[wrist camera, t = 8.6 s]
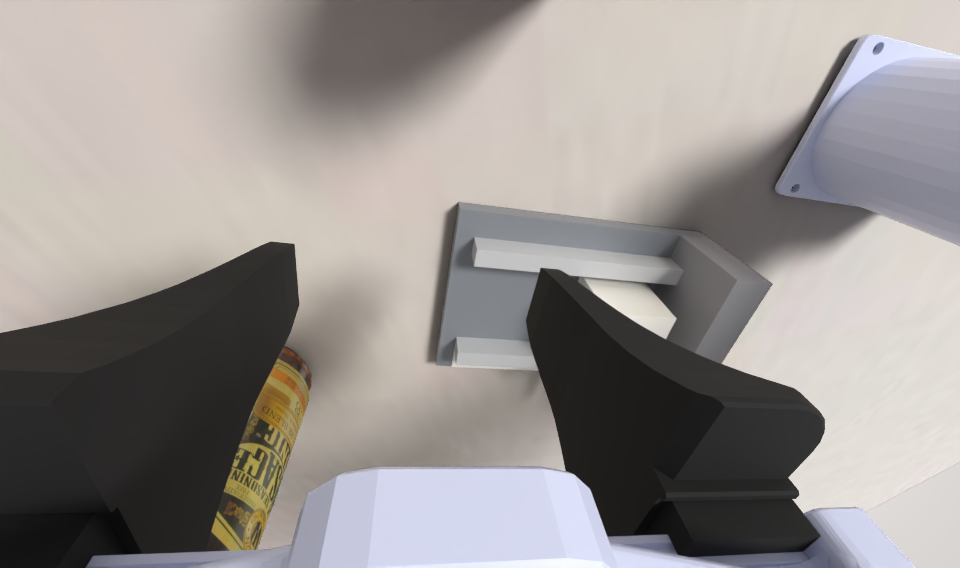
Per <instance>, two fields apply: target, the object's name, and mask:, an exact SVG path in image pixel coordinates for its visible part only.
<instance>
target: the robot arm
mask: <svg viewBox="0 0 960 568" xmlns="http://www.w3.org/2000/svg"><path fill="white" fill-rule="evenodd" d="M875 46H876V48H875V50H874V51H873V49H874V47H875ZM793 186H794V187H793ZM792 187H793V188H792ZM791 188H792V189H791ZM775 191H776V193H779V194H781V195H784V196H790V197H797V198H804V199H810V200H817V201H824V202H831V203H837V204H844V205H851V206H857V207H862V208H865V209H867V210H870V211H872V212H875V213H877V214H880V215H882V216H885V217H888V218H890V219H893V220H895V221H898V222H900V223H903V224H905V225H908V226H910V227H913V228H915V229H918V230H920V231H923V232H925V233H928V234H930V235H933V236H936V237H938V238H941V239H943V240H946V241H948V242H951V243H953V244H956V245H958V246H960V55H956V54H952V53H948V52H944V51H940V50H936V49H932V48H928V47H924V46H920V45H916V44H912V43H908V42H904V41H900V40H896V39H892V38H888V37H884V36H880V35H876V34H868V35H865V36H862V37H861V38H860V39H859V40H858V41H857V43H856V44H855V46H854V47H853V49H852V51H851V53H850V54H849V56H848V58H847V60H846V62H845V63H844V65H843V67H842V69H841V70H840V72H839V74H838V76H837V77H836V79H835V81H834V83H833V85H832V86H831V88H830V90H829V92H828V93H827V95H826V97H825V99H824V101H823V102H822V104H821V106H820V108H819V109H818V111H817V113H816V115H815V116H814V118H813V120H812V122H811V124H810V125H809V127H808V129H807V131H806V132H805V134H804V136H803V138H802V140H801V141H800V143H799V145H798V147H797V148H796V150H795V152H794V154H793V155H792V157H791V159H790V161H789V163H788V164H787V166H786V168H785V170H784V171H783V173H782V175H781V177H780V179H779V180H778V182H777V184H776V186H775ZM298 307H299V297H298V284H297V271H296V258H295V245H294V244H289V243H279V242H269V243H266V244H264V245H261V246H259V247H257V248H255V249H253V250H251V251H249V252H247V253H245V254H243V255H241V256H239V257H237V258H235V259H233V260H231V261H229V262H227V263H224V264H222V265H220V266H218V267H216V268H214V269H212V270H210V271H207V272H205V273H203V274H201V275H198V276H196V277H194V278H191V279H189V280H187V281H185V282H182V283H180V284H178V285H175V286H173V287H170V288H168V289H165V290H162V291H160V292H157V293H154V294H151V295H148V296H145V297H142V298H139V299H136V300H133V301H130V302H127V303H124V304H120V305H117V306H113V307H109V308H106V309H102V310H99V311H95V312H91V313H88V314H84V315H80V316H77V317H73V318H69V319H65V320H60V321H56V322H51V323H47V324H43V325H38V326H33V327H28V328H23V329H18V330H14V331H9V332H3V333H0V568H916V567H915V566H914V565H913V564H912V563H911V562H910V560H908V558H907V557H906V556H905V555H904V554H903V553H902V552H901V551H900V550H899V549H898V548H897V546H896V545H895V544H894V543H893V542H892V541H891V540H890V539H889V538H888V537H887V535H886V534H885V533H884V532H883V531H882V530H881V529H880V528H879V527H878V526H877V525H876V524H875V522H873V520H872V519H871V518H870V517H869V516H868V515H867V514H866V513H865V512H864V510H863V509H861V508H857V507H843V508H818V509H813V510H811V511H808V512H806V513H804V514H803V512H802V511H801V510H800V509H799V507H798V506H797V505H796V504H795V502H794V501H793V500H792V499H796V498H797V497H798V496H799V491H798V489H797V488H796V487H795V486H794V484H793V483H792V482H791V481H790V480H789V478H788V477H789V476H790V475H791V474H792V473H793V472H794V471H795V470H796V469H797V468H798V467H799V466H800V464H801V463H802V462H803V461H804V460H805V459H806V458H807V457H808V456H809V455H810V454H811V453H812V452H813V451H814V449H815V448H816V447H817V445H818V444H819V443H820V441H821V439H822V436H823V434H824V430H825V419H824V417H823V416H822V414H821V413H820V411H819V410H818V409H817V408H816V407H814V406H813V405H812V404H811V403H810V402H809V401H808V400H807V399H806V398H805V397H804V396H803V395H802V394H801V393H800V392H798V391H797V390H796V389H794V388H792V387H788V386H785V385H782V384H779V383H776V382H772V381H769V380H766V379H763V378H760V377H757V376H753V375H750V374H747V373H744V372H741V371H739V370H736V369H733V368H731V367H728V366H725V365H723V364H720V363H717V362H715V361H712V360H710V359H708V358H705V357H703V356H700V355H698V354H696V353H694V352H692V351H689V350H687V349H685V348H683V347H681V346H679V345H676V344H674V343H672V342H670V341H668V340H666V339H664V338H663V337H661V336H659V335H657V334H655V333H654V332H652V331H650V330H648V329H646V328H645V327H643V326H641V325H639V324H638V323H636V322H634V321H633V320H631V319H630V318H628V317H627V316H625V315H624V314H622V313H621V312H619V311H618V310H616V309H615V308H613V307H612V306H610V305H609V304H608V303H606V302H605V301H603V300H602V299H601V298H599V297H598V296H596V295H595V294H594V293H592V292H591V291H590V290H588V289H587V288H586V287H584V286H583V285H582V284H580V283H579V282H578V281H576V280H575V279H573V278H572V277H571V276H569V275H568V274H566V273H565V272H563V271H561V270H559V269H549V268H540V272H539V275H538V279H537V283H536V286H535V290H534V293H533V297H532V300H531V304H530V307H529V311H528V314H527V318H526V325H527V331H528V337H529V342H530V347H531V350H532V353H533V356H534V359H535V362H536V365H537V368H538V371H539V373H540V376H541V379H542V382H543V385H544V388H545V391H546V393H547V396H548V399H549V402H550V405H551V408H552V411H553V415H554V418H555V422H556V427H557V431H558V436H559V440H560V445H561V449H562V454H563V459H564V464H565V469H566V471H561V470H556V469H550V468H545V467H539V466H518V467H374V468H368V469H361V470H355V471H349V472H343V473H341V474H339V475H338V476H336V477H334V478H333V479H331V480H329V481H327V482H326V483H324V484H322V485H321V486H319V487H317V488H315V489H314V490H312V491H310V492H309V493H308V494H307V497H306V499H305V502H304V504H303V507H302V509H301V512H300V514H299V518H298V522H297V525H296V529H295V533H294V537H293V541H292V544H291V545H288V546H283V547H279V548H274V549H264V550H237V551H210V552H206V548H207V545H208V541H209V538H210V534H211V531H212V527H213V524H214V521H215V518H216V515H217V512H218V508H219V505H220V502H221V499H222V496H223V492H224V489H225V486H226V483H227V480H228V477H229V474H230V471H231V468H232V465H233V462H234V459H235V456H236V453H237V451H238V448H239V445H240V442H241V439H242V437H243V434H244V431H245V428H246V426H247V423H248V420H249V417H250V415H251V412H252V410H253V407H254V405H255V403H256V401H257V398H258V396H259V394H260V392H261V390H262V388H263V386H264V384H265V382H266V380H267V378H268V376H269V374H270V373H271V371H272V369H273V367H274V365H275V363H276V361H277V359H278V357H279V355H280V353H281V351H282V349H283V347H284V345H285V343H286V341H287V338H288V336H289V334H290V332H291V329H292V326H293V323H294V320H295V316H296V313H297V310H298Z"/></svg>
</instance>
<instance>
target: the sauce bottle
mask: <svg viewBox="0 0 960 568" xmlns="http://www.w3.org/2000/svg"><path fill="white" fill-rule="evenodd" d="M310 388H311V373H310V372H309V369H308V367H307V366H306V364H305V363H304V362H303V361H302V359H300V358H299V357H298V355H297V354H296V353H295V352H293V351H292V350H291V349H289V348H286V347H285V346H284V347H283V349H282V351H281V353H280V355H279V357H278V359H277V361H276V363H275V365H274V367H273V369H272V371H271V373H270V374H269V376H268V378H267V380H266V382H265V384H264V386H263V388H262V390H261V392H260V394H259V396H258V398H257V401H256V403H255V405H254V407H253V410H252V412H251V415H250V417H249V420H248V423H247V426H246V428H245V431H244V434H243V437H242V439H241V442H240V445H239V448H238V451H237V453H236V456H235V459H234V462H233V465H232V468H231V471H230V474H229V477H228V480H227V483H226V486H225V489H224V492H223V496H222V499H221V502H220V505H219V508H218V512H217V515H216V518H215V521H214V524H213V527H212V531H211V534H210V538H209V541H208V545H207V548H206V552H210V551H237V550H257V548H258V545H259V543H260V540H261V537H262V534H263V531H264V528H265V525H266V523H267V520H268V517H269V514H270V512H271V509H272V507H273V505H274V501H275V498H276V495H277V493H278V489H279V486H280V483H281V480H282V477H283V474H284V471H285V468H286V466H287V463H288V460H289V456H290V453H291V451H292V448H293V445H294V442H295V439H296V436H297V433H298V430H299V428H300V425H301V422H302V419H303V416H304V413H305V410H306V407H307V404H308V401H309V390H310Z"/></svg>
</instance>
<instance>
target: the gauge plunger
mask: <svg viewBox="0 0 960 568" xmlns="http://www.w3.org/2000/svg"><path fill="white" fill-rule="evenodd" d="M578 282H579V283H580V284H582V285H583V286H584V287H586V288H587V289H588V290H590V291H591V292H592V293H594V294H595V295H596V296H598V297H599V298H601V299H602V300H603V301H605V302H606V303H608V304H609V305H610V306H612V307H613V308H615V309H616V310H618V311H619V312H621V313H622V314H624V315H625V316H627V317H628V318H630V319H631V320H633V321H634V322H636V323H638V324H639V325H641V326H643V327H645V328H646V329H648V330H650V331H652V332H654V333H655V334H657V335H659V336H661V337H663V338H664V339H666V338H667V336H668V334H669V332H670V330H671V328H672V327H673V325H674V323H675V321H676V319H677V318H676V317H675V316H674V315H673V314H672V313H671V312H670V310H669V309H668V308H667V307H666V306H665V305H664V304H663V302H662V301H661V300H660V299H659V298H658V297H657V296H656V295H655V293H654V292H653V291H652V290H651V289H650V288H649V287H648V285H647V284H646V283H645V282H635V281H624V280H614V279H603V278H592V277H582V276H580V277H579V280H578Z"/></svg>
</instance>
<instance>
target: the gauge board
mask: <svg viewBox="0 0 960 568" xmlns="http://www.w3.org/2000/svg"><path fill="white" fill-rule="evenodd" d="M540 268H549V269H559V270H561V271H563V272H565V273H566V274H568V275H569V276H571V277H572V278H573V279H575V280H576V281H578V280H579V277H580V276H582V277H592V278H603V279H614V280H624V281H635V282H645V283H646V284H647V285H648V287H649V288H650V289H651V290H652V291H653V292H654V293H655V295H656V296H657V297H658V298H659V299H660V300H661V301H662V302H663V304H664V305H665V306H666V307H667V308H668V309H669V310H670V312H671V313H672V314H673V315H674V316H675V317H676V318H677V319H676V321H675V323H674V325H673V327H672V328H671V330H670V332H669V334H668V336H667V338H666V340H668V341H670V342H672V343H674V344H676V345H679V346H681V347H683V348H685V349H687V350H689V351H692V352H694V353H696V354H698V355H700V356H703V357H705V358H708V359H710V360H712V361H715V362H717V363H720V364H721V363H722V362H723V360H724V359H725V357H726V356H727V354H728V353H729V351H730V349H731V348H732V346H733V345H734V343H735V342H736V340H737V339H738V337H739V335H740V334H741V332H742V331H743V329H744V328H745V326H746V325H747V323H748V321H749V320H750V318H751V317H752V315H753V314H754V312H755V311H756V309H757V308H758V306H759V304H760V303H761V301H762V300H763V298H764V297H765V295H766V294H767V292H768V290H769V289H770V287H771V286H772V283H771V282H770V281H768V280H767V279H765V278H764V277H763V276H761V275H760V274H759V273H757V272H756V271H754V270H753V269H752V268H750V267H749V266H747V265H746V264H745V263H743V262H742V261H740V260H739V259H738V258H736V257H735V256H733V255H732V254H731V253H729V252H728V251H727V250H725V249H724V248H722V247H721V246H720V245H718V244H717V243H715V242H714V241H713V240H711V239H710V238H708V237H707V236H706V235H704V234H703V233H701V232H696V231H688V230H680V229H672V228H664V227H656V226H648V225H640V224H632V223H624V222H615V221H607V220H599V219H591V218H583V217H575V216H567V215H559V214H551V213H543V212H535V211H526V210H518V209H510V208H502V207H494V206H486V205H478V204H470V203H462V202H459V204H458V211H457V217H456V224H455V231H454V238H453V244H452V251H451V258H450V264H449V271H448V278H447V285H446V291H445V298H444V305H443V312H442V318H441V325H440V332H439V338H438V345H437V352H436V365H445V366H451V367H466V368H488V369H510V370H532V371H538V368H537V365H536V362H535V359H534V356H533V353H532V350H531V347H530V342H529V337H528V331H527V325H526V318H527V314H528V311H529V307H530V304H531V300H532V297H533V293H534V290H535V286H536V283H537V279H538V275H539V272H540Z"/></svg>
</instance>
